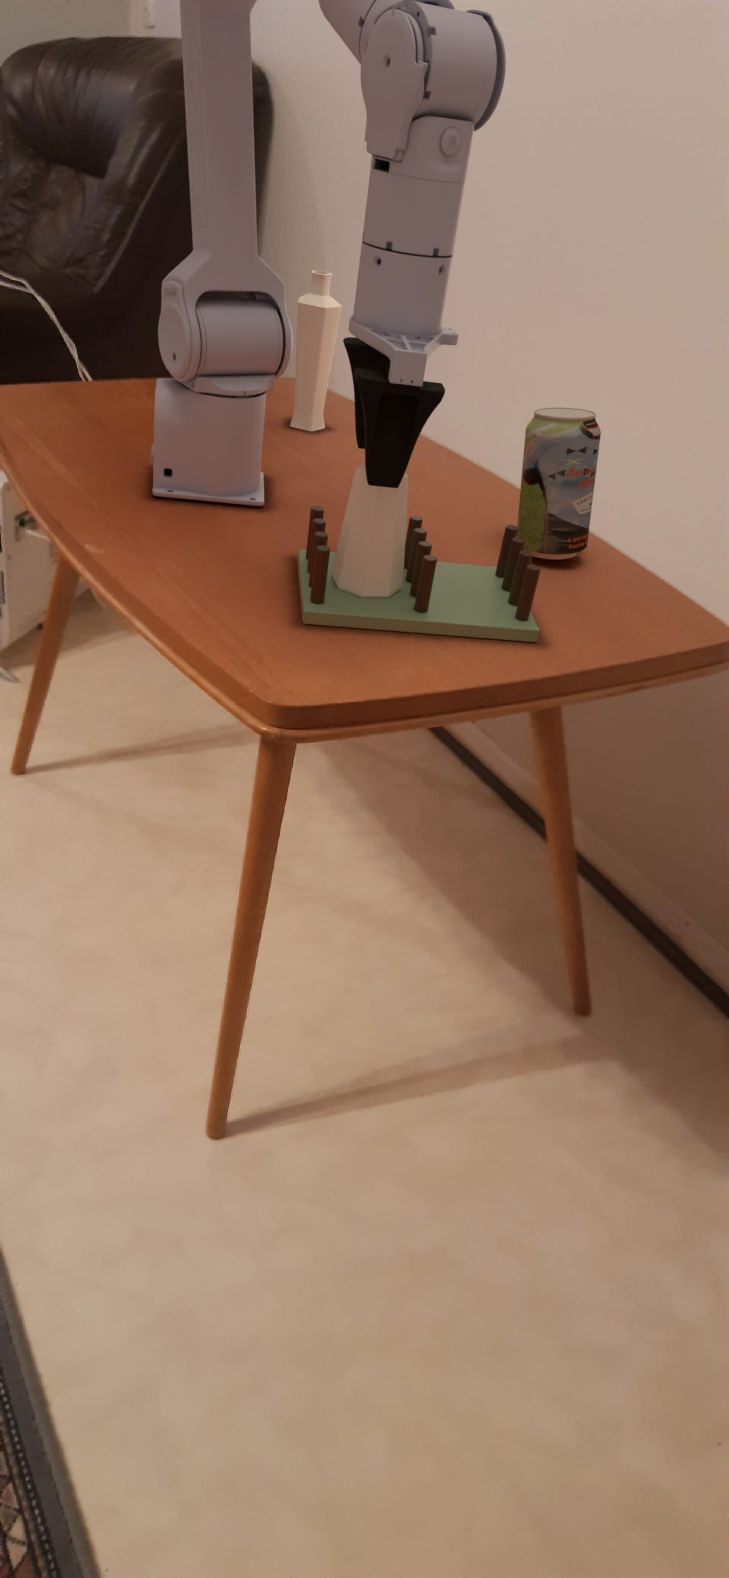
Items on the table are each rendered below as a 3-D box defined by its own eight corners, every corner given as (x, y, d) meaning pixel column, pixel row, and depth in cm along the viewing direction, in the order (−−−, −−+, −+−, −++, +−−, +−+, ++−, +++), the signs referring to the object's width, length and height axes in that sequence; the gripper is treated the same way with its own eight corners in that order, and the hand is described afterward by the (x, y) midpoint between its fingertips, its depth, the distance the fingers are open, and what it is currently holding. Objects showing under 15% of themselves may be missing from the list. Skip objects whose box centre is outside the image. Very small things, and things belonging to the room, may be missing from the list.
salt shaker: (315, 574, 76) (332, 424, 70) (372, 563, 79) (393, 419, 73) (360, 604, 73) (382, 450, 67) (417, 592, 76) (443, 443, 70)
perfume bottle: (327, 434, 108) (344, 280, 100) (286, 429, 108) (299, 273, 100) (329, 422, 112) (346, 272, 104) (289, 417, 112) (302, 265, 103)
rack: (302, 624, 71) (309, 556, 69) (296, 560, 80) (303, 498, 78) (537, 642, 74) (553, 578, 71) (506, 579, 83) (519, 519, 80)
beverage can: (566, 575, 85) (604, 429, 78) (488, 548, 88) (518, 405, 81) (593, 556, 90) (632, 416, 83) (518, 530, 92) (549, 393, 86)
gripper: (492, 278, 58) (449, 509, 66) (452, 239, 70) (419, 439, 77) (369, 261, 57) (340, 498, 65) (349, 224, 69) (326, 429, 76)
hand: (376, 466), depth 71 cm, fingers open, 7 cm apart
